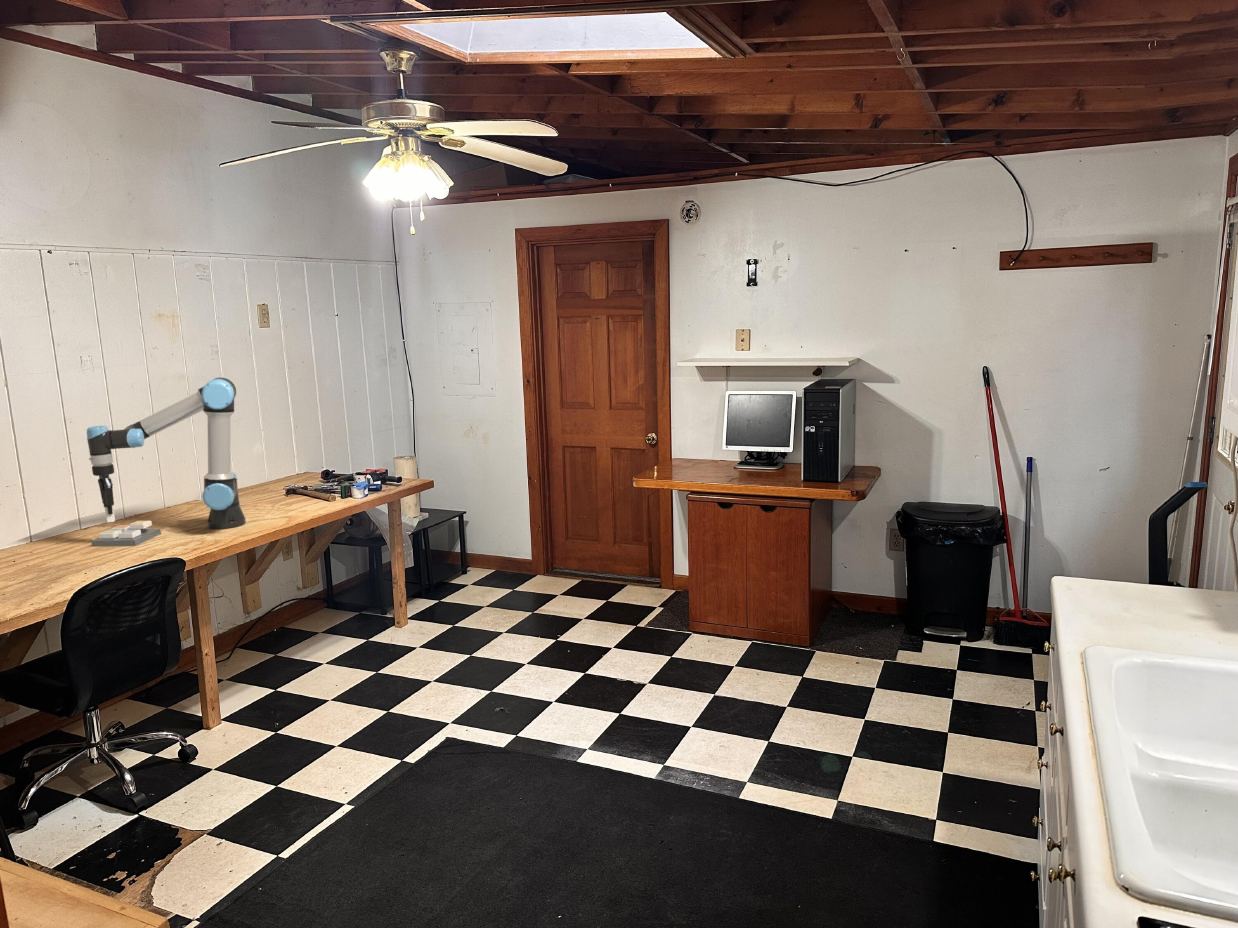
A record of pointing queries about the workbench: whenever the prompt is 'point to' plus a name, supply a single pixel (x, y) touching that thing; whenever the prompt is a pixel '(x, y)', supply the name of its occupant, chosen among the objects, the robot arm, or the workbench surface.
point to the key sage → (109, 534)
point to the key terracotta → (122, 527)
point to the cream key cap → (140, 525)
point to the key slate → (129, 534)
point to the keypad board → (127, 539)
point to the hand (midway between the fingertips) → (111, 521)
